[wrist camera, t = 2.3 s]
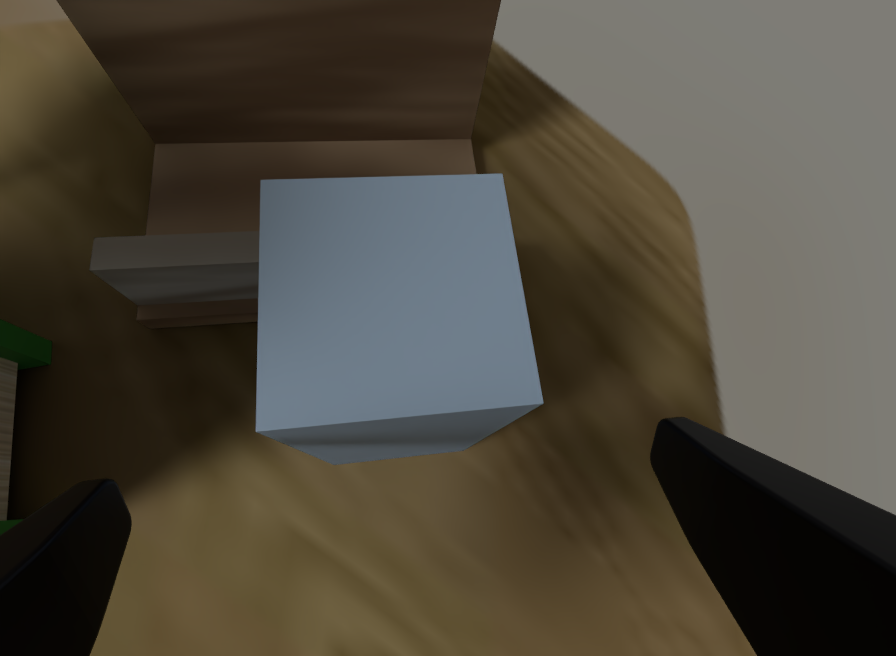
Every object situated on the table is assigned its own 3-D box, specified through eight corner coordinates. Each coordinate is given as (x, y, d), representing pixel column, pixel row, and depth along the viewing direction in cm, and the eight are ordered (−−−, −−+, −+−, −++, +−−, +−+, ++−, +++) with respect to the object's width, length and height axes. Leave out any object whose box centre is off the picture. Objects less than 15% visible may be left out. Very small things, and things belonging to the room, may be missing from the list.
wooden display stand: (491, 306, 20) (635, 31, 8) (149, 328, 18) (-330, 12, 6) (463, 127, 24) (538, -264, 11) (168, 131, 22) (-125, -337, 9)
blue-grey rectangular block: (463, 450, 18) (543, 403, 8) (333, 464, 18) (255, 431, 8) (448, 331, 20) (502, 173, 10) (329, 339, 19) (260, 180, 9)
